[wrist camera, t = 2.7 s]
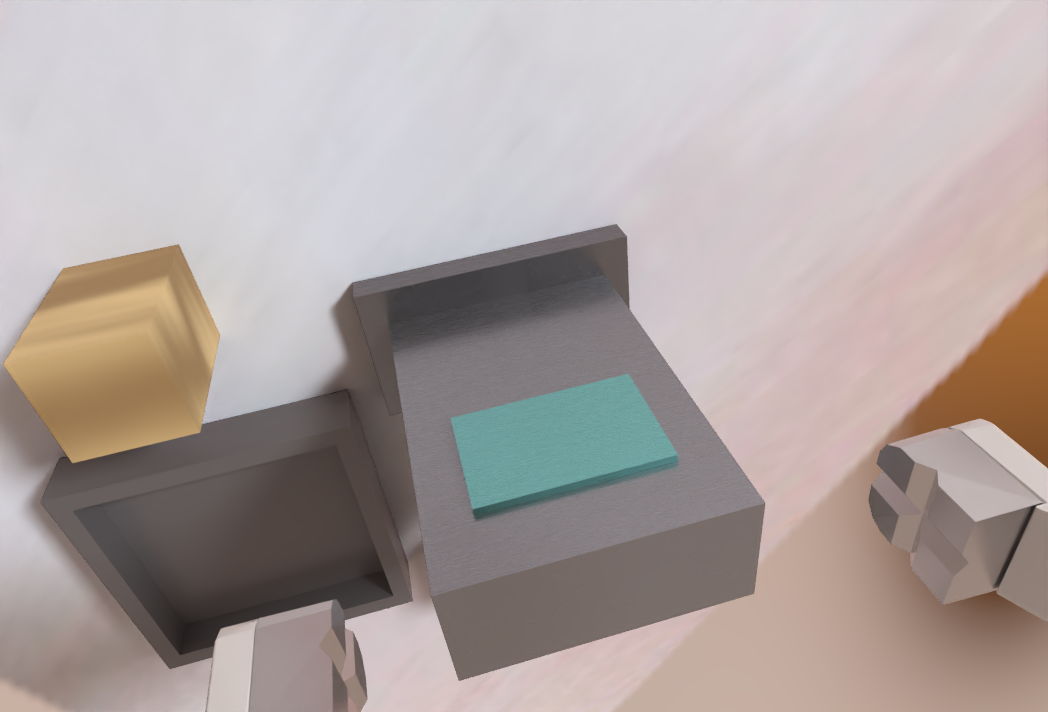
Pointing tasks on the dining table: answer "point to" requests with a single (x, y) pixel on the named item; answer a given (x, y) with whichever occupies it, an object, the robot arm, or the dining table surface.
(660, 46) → the dining table surface
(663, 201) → the dining table surface
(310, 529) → the black tray
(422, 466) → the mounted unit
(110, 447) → the ochre block
